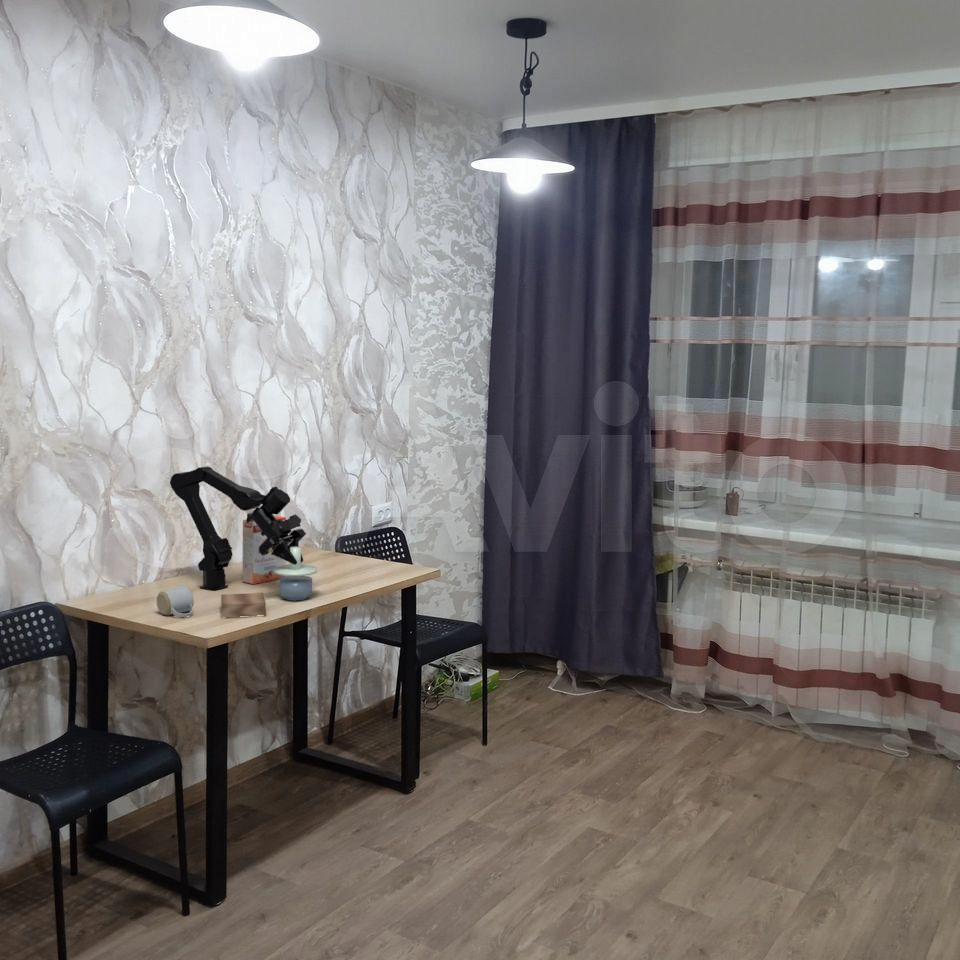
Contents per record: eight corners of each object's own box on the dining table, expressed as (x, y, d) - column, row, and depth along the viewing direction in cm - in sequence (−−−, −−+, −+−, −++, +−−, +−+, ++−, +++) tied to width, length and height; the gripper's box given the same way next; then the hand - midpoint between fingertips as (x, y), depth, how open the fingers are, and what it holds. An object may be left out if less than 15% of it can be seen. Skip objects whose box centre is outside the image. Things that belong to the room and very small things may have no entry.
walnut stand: (222, 618, 276) (222, 604, 276) (221, 607, 288) (221, 594, 287) (265, 616, 280) (265, 602, 279) (263, 605, 291) (263, 592, 290)
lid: (273, 576, 292) (272, 551, 291) (274, 567, 305) (274, 543, 304) (317, 575, 295) (317, 551, 294) (316, 566, 307) (317, 543, 306)
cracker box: (253, 585, 316) (253, 521, 314) (241, 582, 320) (241, 519, 317) (287, 578, 327) (286, 516, 325) (274, 575, 331) (274, 514, 328)
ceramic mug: (154, 613, 280) (154, 587, 279) (180, 608, 286) (179, 582, 285) (175, 621, 273) (175, 594, 272) (200, 615, 280) (200, 589, 278)
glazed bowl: (272, 599, 299) (272, 580, 298) (293, 592, 308) (293, 574, 307) (297, 603, 294) (297, 584, 293) (318, 597, 303) (318, 578, 302)
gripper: (267, 511, 290) (299, 551, 288) (300, 503, 307) (331, 540, 305) (244, 535, 294) (276, 575, 291) (279, 525, 311) (309, 563, 309)
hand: (299, 562), depth 299 cm, fingers closed on lid, 3 cm apart
